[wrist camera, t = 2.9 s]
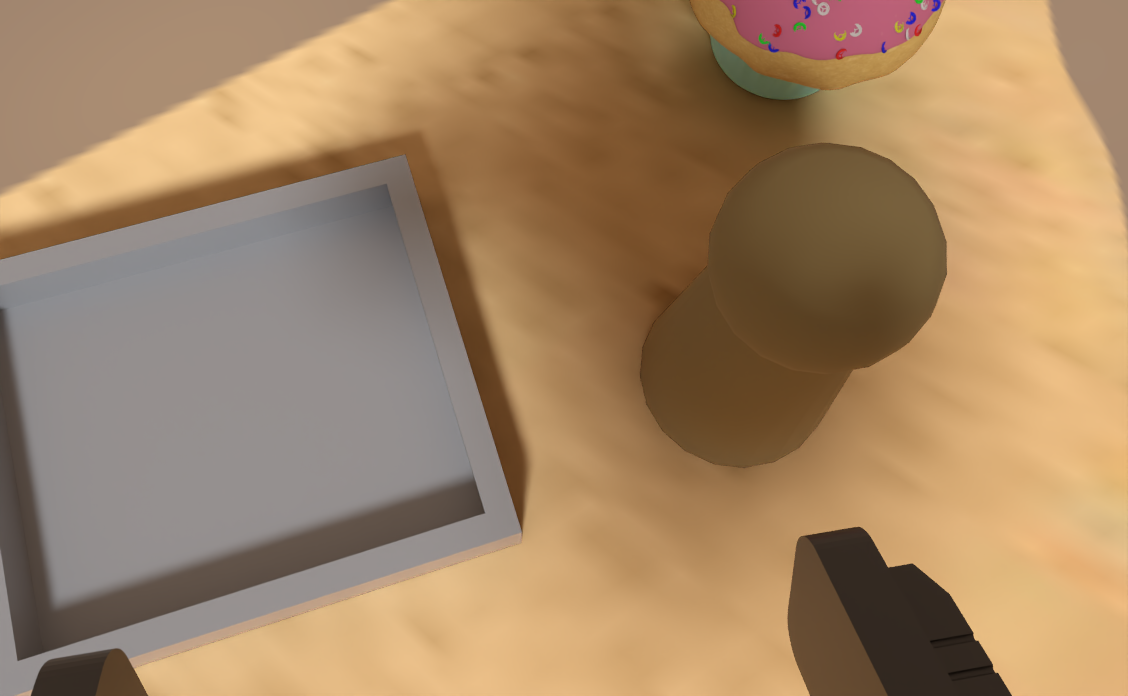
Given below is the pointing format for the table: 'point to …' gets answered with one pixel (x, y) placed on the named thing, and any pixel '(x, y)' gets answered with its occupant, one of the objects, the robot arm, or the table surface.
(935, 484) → the table surface
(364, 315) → the gray tray
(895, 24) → the cupcake
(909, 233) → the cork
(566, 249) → the table surface
